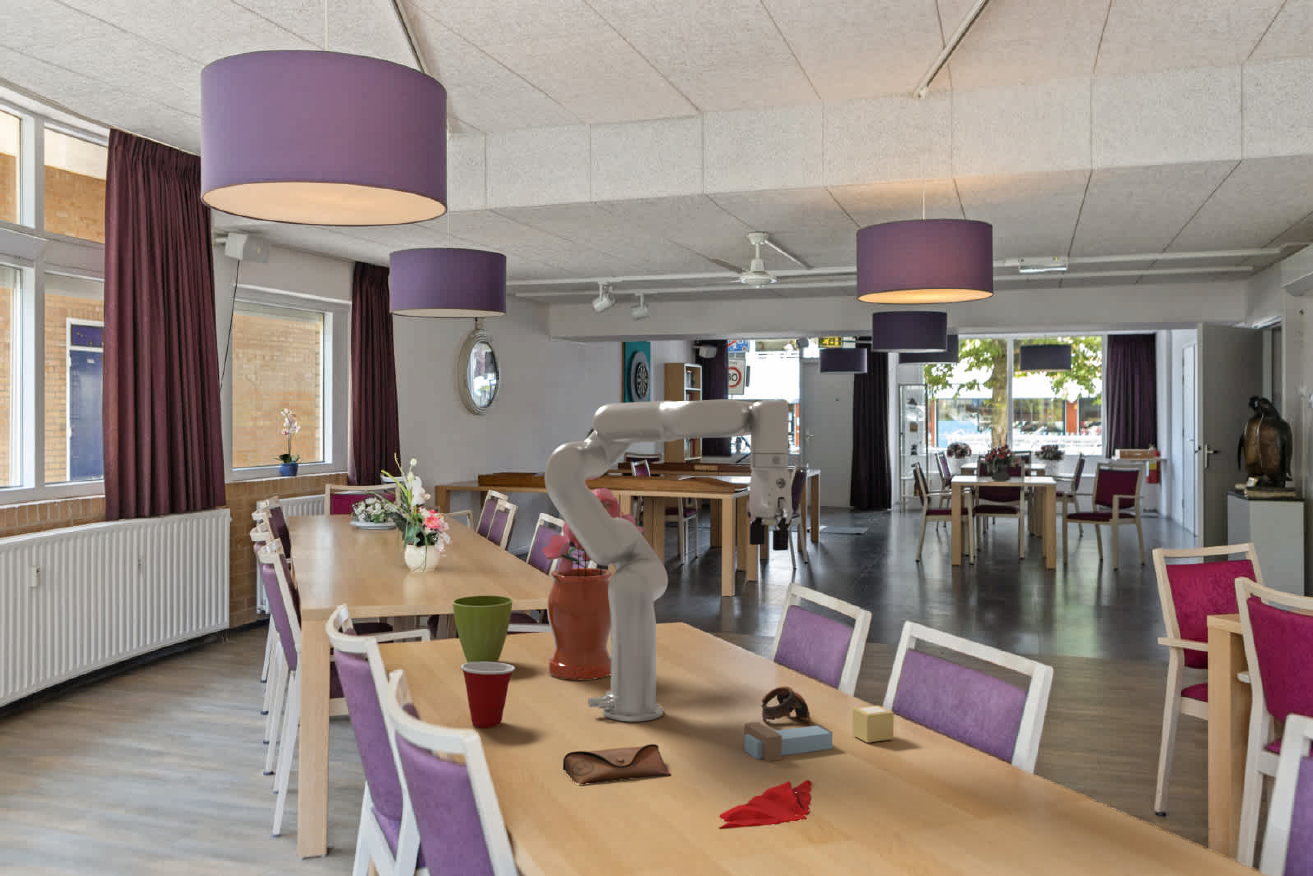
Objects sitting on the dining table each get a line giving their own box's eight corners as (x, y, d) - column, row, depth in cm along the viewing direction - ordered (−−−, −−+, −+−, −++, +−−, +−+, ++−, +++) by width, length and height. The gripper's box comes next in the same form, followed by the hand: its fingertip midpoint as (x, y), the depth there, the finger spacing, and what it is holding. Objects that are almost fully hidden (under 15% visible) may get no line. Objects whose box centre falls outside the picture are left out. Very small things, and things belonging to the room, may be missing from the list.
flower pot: (484, 674, 243) (485, 608, 243) (439, 665, 251) (439, 601, 251) (524, 661, 256) (524, 599, 256) (480, 654, 264) (480, 593, 264)
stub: (867, 742, 193) (867, 715, 192) (852, 734, 197) (852, 708, 197) (893, 739, 195) (893, 711, 195) (878, 731, 199) (878, 705, 199)
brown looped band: (817, 732, 202) (800, 699, 200) (774, 750, 203) (757, 718, 201) (809, 700, 213) (793, 669, 211) (769, 718, 215) (752, 687, 213)
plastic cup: (525, 723, 204) (525, 664, 204) (482, 735, 196) (482, 674, 196) (492, 712, 211) (492, 655, 211) (449, 723, 203) (449, 664, 203)
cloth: (740, 846, 147) (740, 830, 147) (682, 816, 158) (682, 802, 158) (860, 806, 163) (860, 792, 163) (799, 781, 174) (799, 768, 174)
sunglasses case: (575, 786, 169) (569, 746, 172) (565, 795, 174) (560, 756, 177) (675, 775, 175) (668, 736, 178) (662, 783, 181) (656, 746, 184)
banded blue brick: (762, 762, 182) (762, 738, 182) (739, 747, 190) (739, 724, 190) (838, 752, 188) (838, 728, 188) (812, 737, 196) (813, 715, 196)
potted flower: (652, 672, 246) (653, 488, 245) (567, 689, 230) (568, 492, 229) (605, 658, 261) (607, 484, 260) (522, 673, 244) (523, 488, 244)
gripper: (807, 464, 195) (806, 551, 196) (765, 460, 211) (764, 541, 212) (773, 464, 193) (772, 553, 193) (733, 460, 209) (732, 543, 209)
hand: (768, 547), depth 202 cm, fingers open, 9 cm apart
